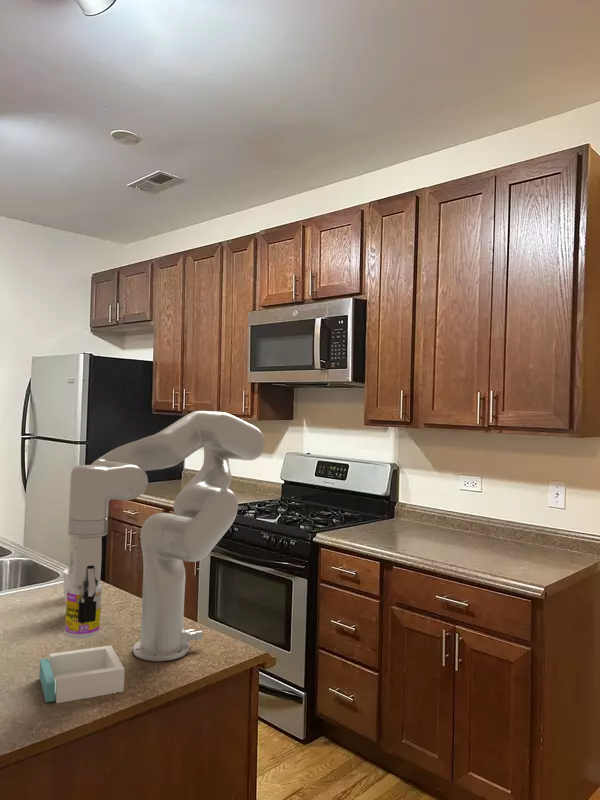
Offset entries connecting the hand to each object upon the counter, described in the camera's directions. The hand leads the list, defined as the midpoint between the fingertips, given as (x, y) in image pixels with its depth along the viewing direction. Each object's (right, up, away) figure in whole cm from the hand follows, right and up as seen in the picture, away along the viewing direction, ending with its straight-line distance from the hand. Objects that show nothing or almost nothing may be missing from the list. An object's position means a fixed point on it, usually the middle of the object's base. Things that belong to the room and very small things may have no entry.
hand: (83, 614), depth 127 cm
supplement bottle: (0, -4, 0) cm, 4 cm away
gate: (-6, -13, -3) cm, 15 cm away
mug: (-15, -14, +41) cm, 46 cm away
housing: (0, -14, 0) cm, 14 cm away
